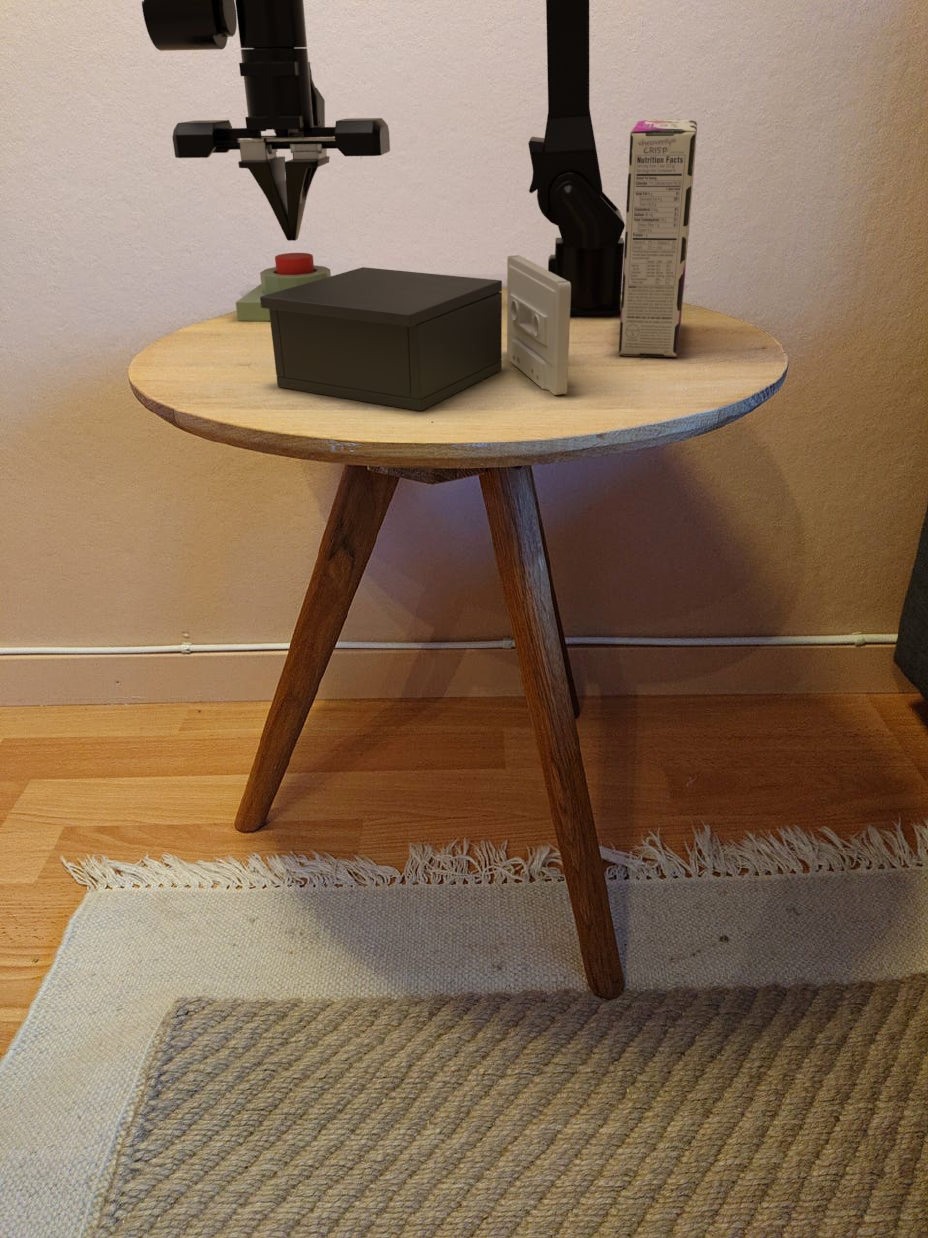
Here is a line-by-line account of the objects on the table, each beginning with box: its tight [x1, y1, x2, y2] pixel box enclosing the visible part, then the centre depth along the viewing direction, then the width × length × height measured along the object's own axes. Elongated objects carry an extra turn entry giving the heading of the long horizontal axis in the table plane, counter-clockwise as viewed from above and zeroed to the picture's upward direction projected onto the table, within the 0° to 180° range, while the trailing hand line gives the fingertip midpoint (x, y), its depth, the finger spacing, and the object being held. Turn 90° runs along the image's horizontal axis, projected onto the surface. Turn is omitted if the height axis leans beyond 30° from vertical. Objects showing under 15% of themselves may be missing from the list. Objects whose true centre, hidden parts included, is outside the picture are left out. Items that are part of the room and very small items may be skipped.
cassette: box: [506, 254, 571, 396], centre depth 71 cm, size 12×2×8 cm, turn 15°
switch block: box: [235, 264, 332, 322], centre depth 94 cm, size 11×9×4 cm
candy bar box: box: [618, 118, 698, 358], centre depth 77 cm, size 11×5×16 cm, turn 168°
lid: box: [260, 266, 503, 327], centre depth 69 cm, size 12×13×1 cm
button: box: [274, 252, 315, 275], centre depth 93 cm, size 4×4×2 cm
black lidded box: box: [269, 291, 503, 412], centre depth 71 cm, size 12×13×6 cm
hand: (292, 239), depth 92 cm, fingers closed
